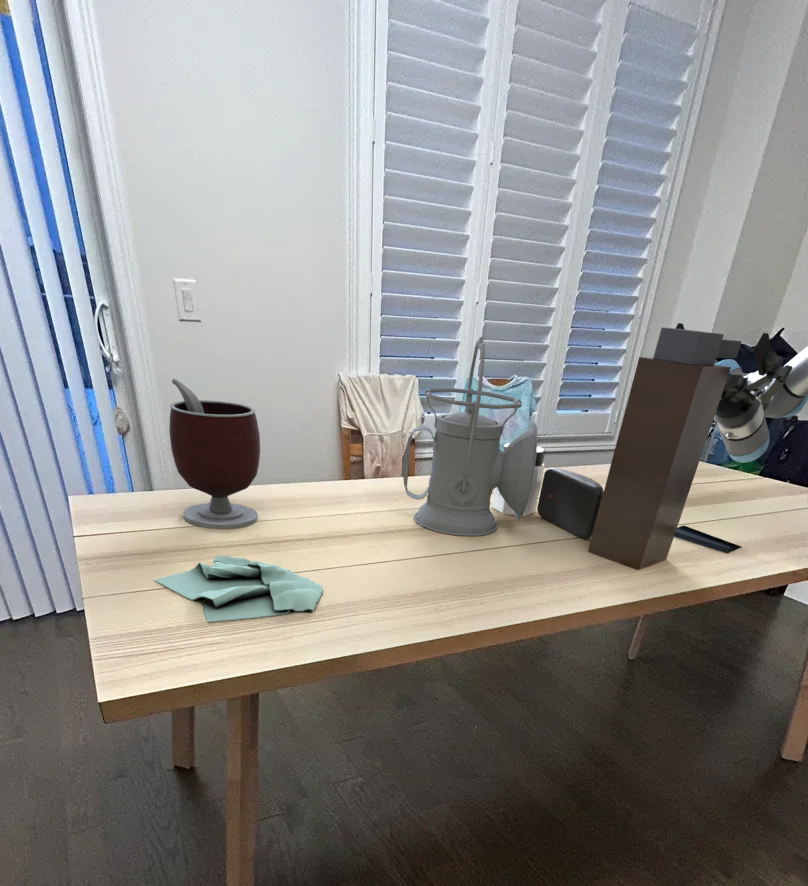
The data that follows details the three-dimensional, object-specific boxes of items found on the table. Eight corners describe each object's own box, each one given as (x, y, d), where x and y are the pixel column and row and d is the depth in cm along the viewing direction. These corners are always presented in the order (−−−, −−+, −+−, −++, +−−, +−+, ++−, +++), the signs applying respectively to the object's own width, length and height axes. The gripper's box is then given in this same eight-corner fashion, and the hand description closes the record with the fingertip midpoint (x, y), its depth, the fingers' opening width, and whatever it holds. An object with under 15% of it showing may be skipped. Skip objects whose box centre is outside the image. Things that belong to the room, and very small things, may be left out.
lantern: (522, 547, 110) (562, 349, 93) (396, 534, 109) (414, 332, 93) (508, 511, 128) (539, 339, 111) (399, 500, 127) (415, 326, 110)
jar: (485, 504, 131) (494, 442, 124) (518, 503, 134) (530, 442, 127) (506, 517, 124) (518, 453, 117) (541, 516, 127) (555, 453, 120)
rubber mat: (702, 522, 134) (704, 518, 134) (759, 539, 128) (761, 534, 127) (668, 534, 125) (669, 529, 124) (727, 553, 118) (729, 548, 117)
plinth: (616, 542, 117) (669, 357, 101) (666, 559, 112) (731, 367, 95) (587, 551, 111) (638, 356, 95) (638, 570, 106) (702, 366, 89)
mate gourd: (279, 518, 111) (276, 391, 100) (220, 536, 101) (210, 396, 90) (215, 498, 117) (206, 376, 106) (154, 513, 107) (136, 380, 96)
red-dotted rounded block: (604, 540, 118) (618, 488, 112) (585, 542, 116) (598, 489, 111) (551, 513, 129) (562, 465, 124) (533, 514, 128) (543, 465, 122)
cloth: (335, 617, 80) (335, 599, 79) (151, 625, 74) (148, 606, 73) (308, 558, 96) (308, 543, 95) (155, 561, 90) (153, 544, 89)
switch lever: (709, 360, 106) (718, 332, 104) (745, 365, 103) (755, 336, 100) (652, 358, 94) (661, 327, 91) (690, 364, 90) (700, 332, 88)
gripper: (797, 442, 109) (786, 372, 92) (664, 414, 123) (633, 349, 106) (821, 399, 107) (814, 321, 90) (684, 377, 121) (656, 305, 104)
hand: (716, 336), depth 98 cm, fingers open, 13 cm apart
